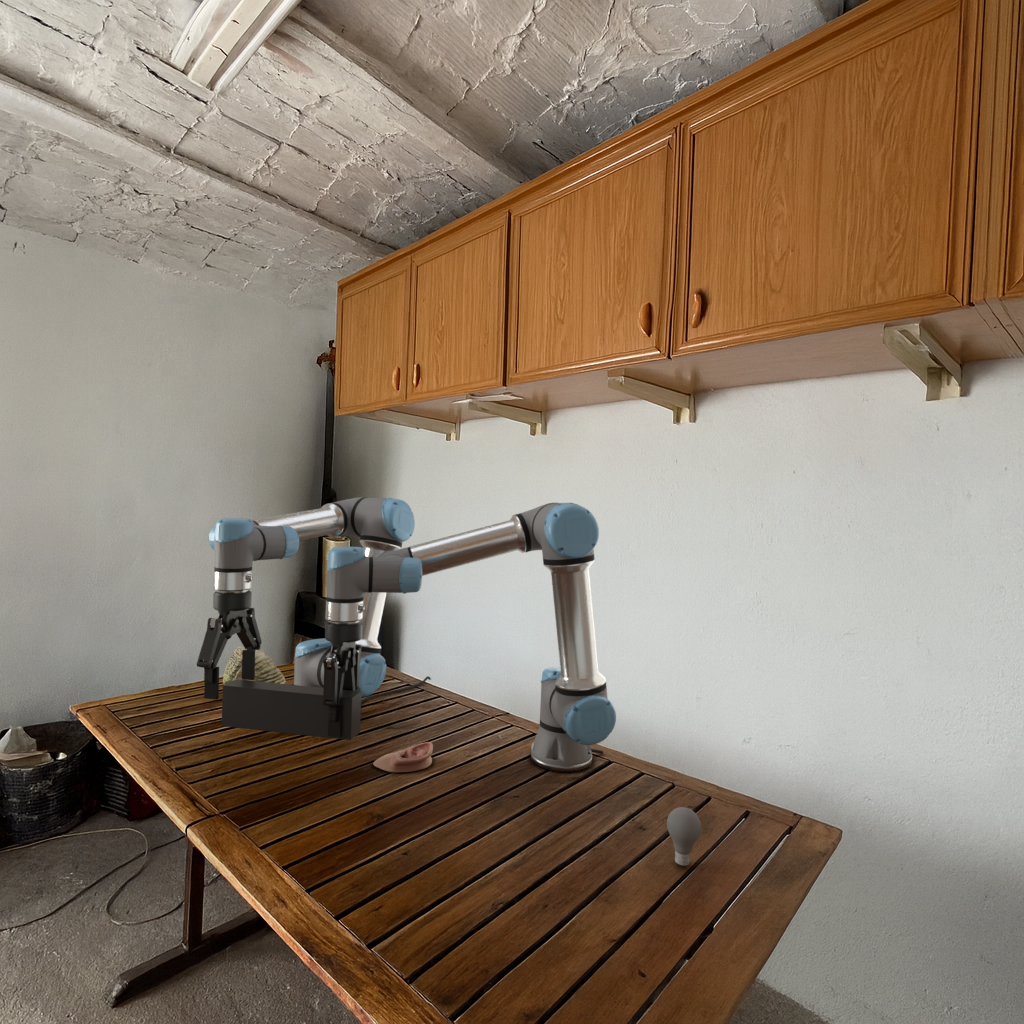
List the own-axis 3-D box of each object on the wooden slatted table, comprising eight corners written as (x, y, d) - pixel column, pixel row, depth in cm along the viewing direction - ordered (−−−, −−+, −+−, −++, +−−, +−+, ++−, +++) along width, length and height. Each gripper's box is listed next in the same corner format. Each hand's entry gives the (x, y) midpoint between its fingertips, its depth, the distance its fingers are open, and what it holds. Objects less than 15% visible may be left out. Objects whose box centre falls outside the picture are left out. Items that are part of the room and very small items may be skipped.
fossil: (218, 695, 195) (220, 647, 195) (278, 685, 208) (279, 640, 207) (228, 703, 189) (230, 653, 188) (289, 692, 201) (290, 645, 201)
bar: (221, 726, 135) (222, 685, 135) (234, 718, 139) (236, 679, 139) (350, 740, 130) (352, 698, 130) (360, 732, 134) (361, 691, 134)
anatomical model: (368, 752, 148) (387, 734, 159) (367, 769, 148) (386, 750, 159) (422, 759, 145) (438, 741, 156) (421, 776, 145) (437, 757, 156)
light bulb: (660, 854, 117) (663, 800, 117) (692, 854, 117) (694, 801, 117) (671, 873, 111) (674, 817, 111) (704, 873, 111) (707, 817, 111)
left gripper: (213, 601, 123) (211, 709, 124) (278, 583, 148) (276, 673, 148) (178, 598, 124) (176, 705, 125) (248, 581, 149) (246, 671, 149)
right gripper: (342, 630, 123) (338, 749, 123) (377, 614, 140) (374, 719, 141) (306, 627, 124) (302, 745, 124) (345, 612, 142) (342, 715, 142)
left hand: (230, 688), depth 137 cm, fingers open, 13 cm apart
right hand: (340, 731), depth 133 cm, fingers closed on bar, 5 cm apart
